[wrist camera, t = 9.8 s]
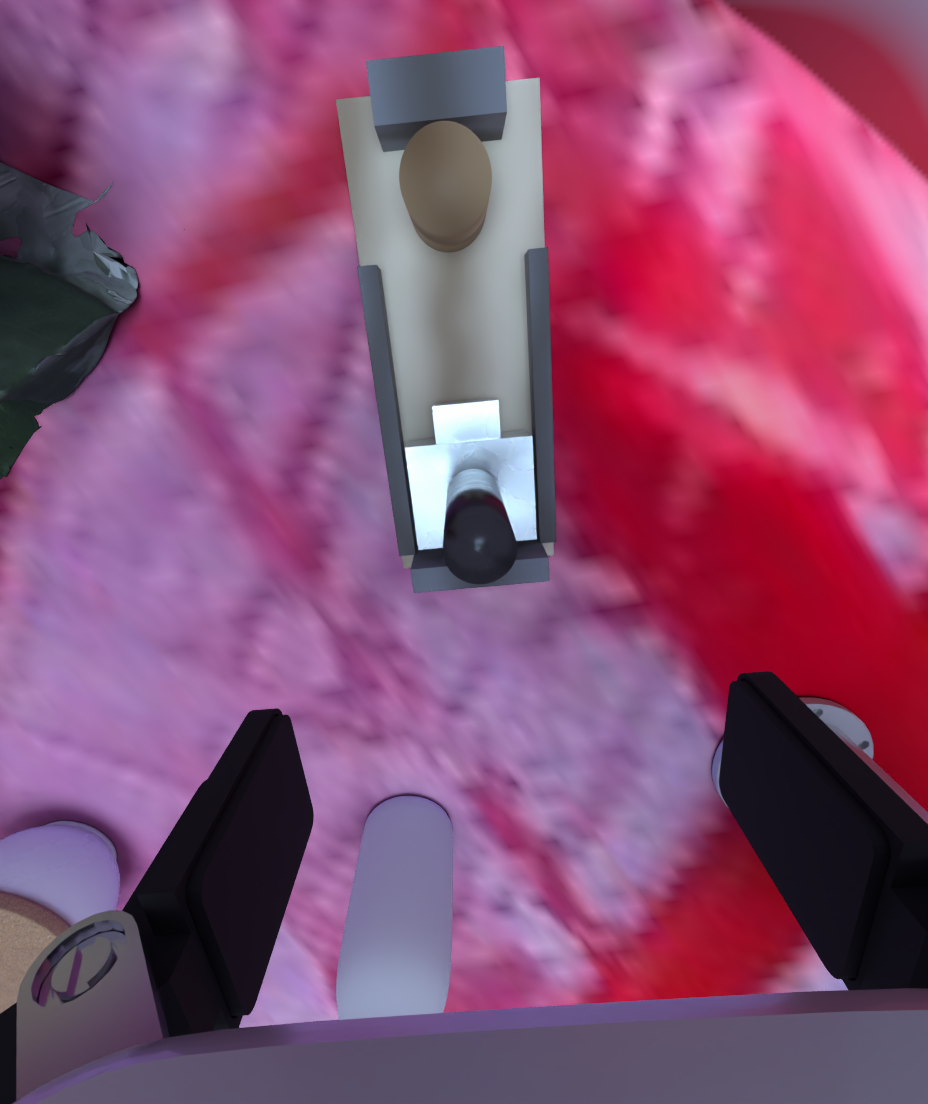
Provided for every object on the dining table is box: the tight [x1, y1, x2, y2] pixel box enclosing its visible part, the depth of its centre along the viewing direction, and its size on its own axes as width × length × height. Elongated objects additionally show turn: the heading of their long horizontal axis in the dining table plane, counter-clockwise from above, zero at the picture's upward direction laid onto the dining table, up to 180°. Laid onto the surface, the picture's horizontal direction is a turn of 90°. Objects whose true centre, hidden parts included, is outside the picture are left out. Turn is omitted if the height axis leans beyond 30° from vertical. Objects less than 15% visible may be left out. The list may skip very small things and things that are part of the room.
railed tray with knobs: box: [336, 46, 556, 593], centre depth 28 cm, size 10×25×6 cm, turn 5°
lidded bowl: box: [0, 821, 120, 1013], centre depth 40 cm, size 13×13×11 cm
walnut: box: [399, 121, 492, 252], centre depth 24 cm, size 4×4×5 cm
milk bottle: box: [336, 796, 453, 1020], centre depth 35 cm, size 8×8×20 cm
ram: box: [405, 397, 537, 584], centre depth 25 cm, size 7×8×12 cm
